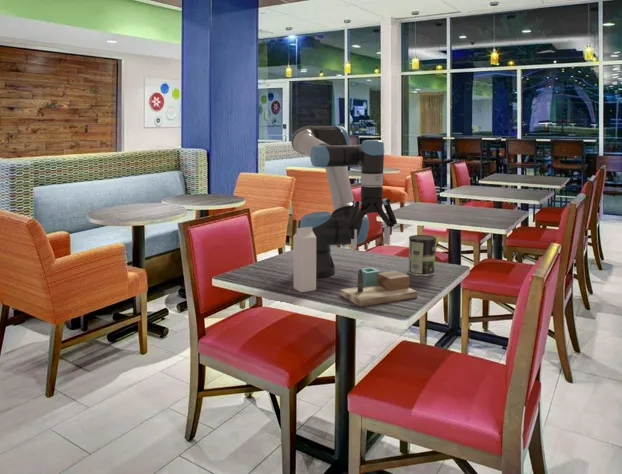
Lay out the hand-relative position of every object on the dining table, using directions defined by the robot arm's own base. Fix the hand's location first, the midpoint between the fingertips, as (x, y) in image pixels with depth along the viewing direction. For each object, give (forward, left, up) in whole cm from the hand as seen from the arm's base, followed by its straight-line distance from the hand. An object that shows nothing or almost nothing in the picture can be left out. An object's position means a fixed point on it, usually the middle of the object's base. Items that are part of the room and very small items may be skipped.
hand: (370, 246), depth 191 cm
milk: (-7, -22, -15) cm, 28 cm away
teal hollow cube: (0, 0, -15) cm, 15 cm away
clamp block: (+9, +4, -12) cm, 16 cm away
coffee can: (-7, +28, -15) cm, 32 cm away
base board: (+11, -3, -15) cm, 19 cm away
